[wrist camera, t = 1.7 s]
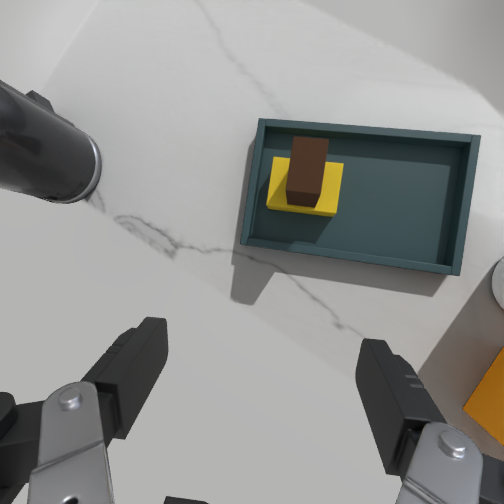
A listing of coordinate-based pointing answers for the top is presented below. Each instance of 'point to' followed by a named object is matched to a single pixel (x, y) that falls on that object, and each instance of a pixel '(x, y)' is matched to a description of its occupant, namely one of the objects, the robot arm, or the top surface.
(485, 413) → the orange juice
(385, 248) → the tray
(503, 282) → the milk bottle
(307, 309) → the top surface
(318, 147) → the block on yellow base
